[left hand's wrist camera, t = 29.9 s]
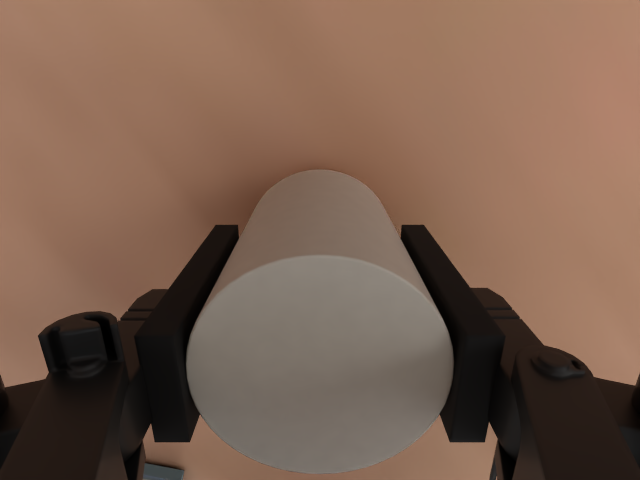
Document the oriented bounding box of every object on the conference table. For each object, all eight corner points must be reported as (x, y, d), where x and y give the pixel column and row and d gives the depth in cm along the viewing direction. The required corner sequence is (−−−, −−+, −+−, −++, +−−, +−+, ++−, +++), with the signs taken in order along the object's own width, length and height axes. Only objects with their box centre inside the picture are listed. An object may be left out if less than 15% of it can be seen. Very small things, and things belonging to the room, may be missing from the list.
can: (263, 308, 17) (218, 486, 10) (235, 179, 15) (151, 274, 8) (395, 292, 17) (456, 462, 9) (385, 159, 15) (453, 237, 7)
